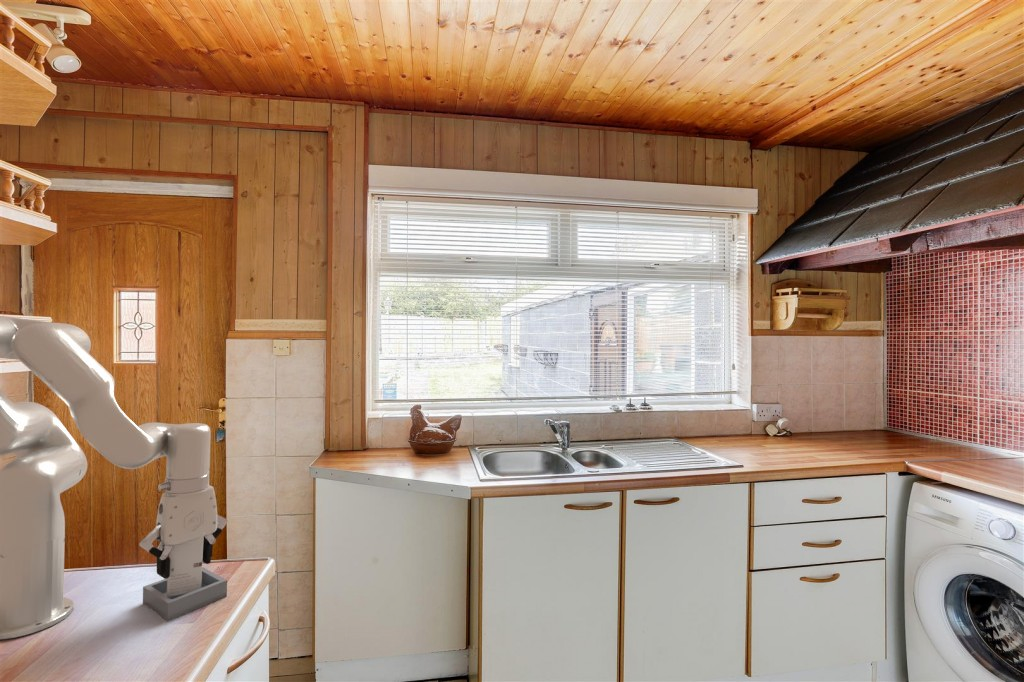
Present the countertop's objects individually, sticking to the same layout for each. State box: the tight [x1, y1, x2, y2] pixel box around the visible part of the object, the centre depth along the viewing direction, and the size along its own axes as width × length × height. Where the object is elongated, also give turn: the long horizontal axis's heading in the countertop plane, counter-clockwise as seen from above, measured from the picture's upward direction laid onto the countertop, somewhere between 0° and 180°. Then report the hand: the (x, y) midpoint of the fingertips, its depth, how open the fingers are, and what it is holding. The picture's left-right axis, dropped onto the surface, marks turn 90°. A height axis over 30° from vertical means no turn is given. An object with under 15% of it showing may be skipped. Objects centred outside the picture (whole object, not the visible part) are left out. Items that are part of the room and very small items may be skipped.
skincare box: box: [167, 532, 204, 597], centre depth 100 cm, size 6×4×12 cm
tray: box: [142, 566, 228, 622], centre depth 100 cm, size 11×11×4 cm
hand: (185, 568), depth 100 cm, fingers open, 7 cm apart
